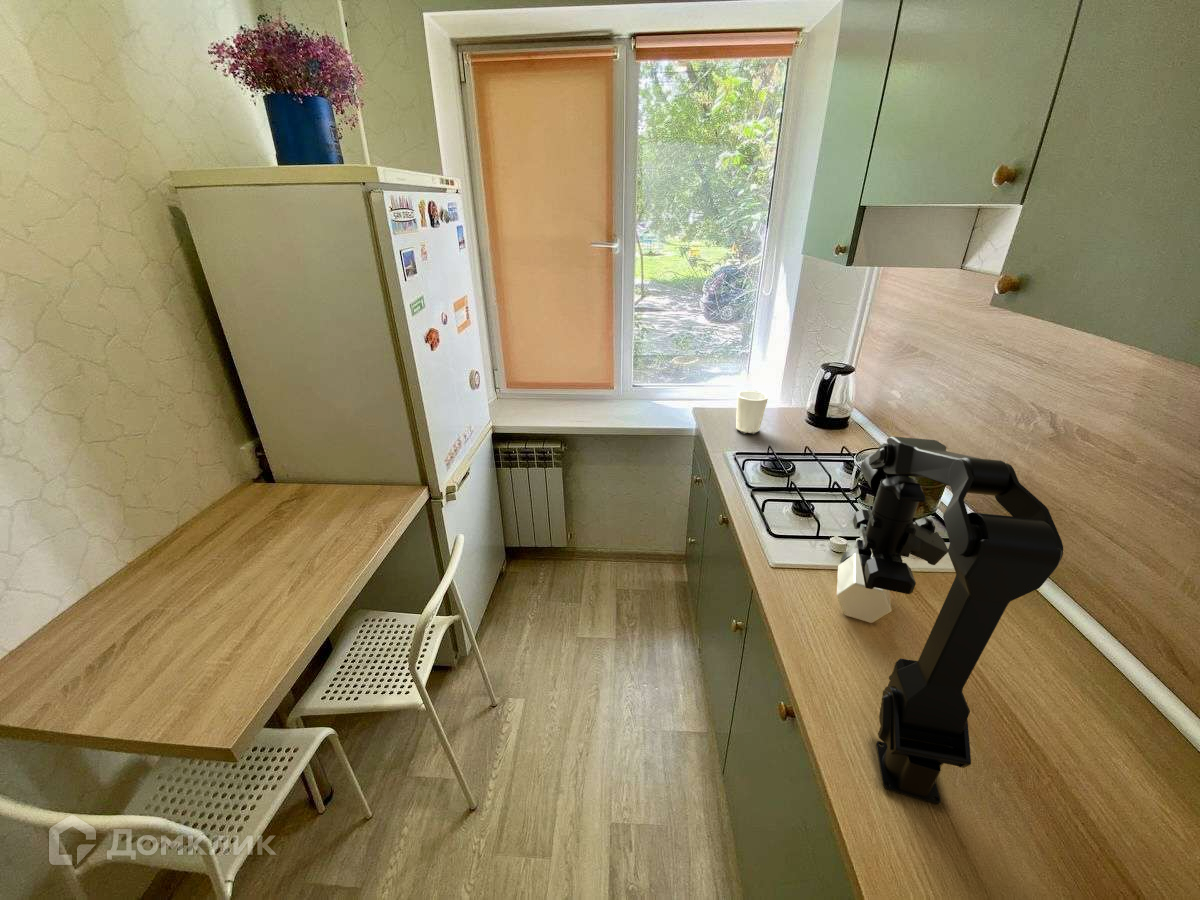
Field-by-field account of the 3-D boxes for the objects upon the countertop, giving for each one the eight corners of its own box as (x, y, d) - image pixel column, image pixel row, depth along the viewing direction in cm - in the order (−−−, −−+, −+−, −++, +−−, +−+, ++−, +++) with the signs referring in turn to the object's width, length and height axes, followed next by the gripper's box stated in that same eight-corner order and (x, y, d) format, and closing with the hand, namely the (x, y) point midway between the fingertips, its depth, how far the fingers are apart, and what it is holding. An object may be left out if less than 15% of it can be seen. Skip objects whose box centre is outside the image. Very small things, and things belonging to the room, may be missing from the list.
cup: (731, 424, 172) (735, 389, 166) (759, 425, 170) (765, 391, 165) (734, 435, 163) (739, 399, 157) (764, 437, 162) (770, 401, 156)
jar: (880, 580, 85) (878, 541, 95) (831, 586, 89) (833, 548, 99) (897, 621, 87) (893, 579, 96) (848, 625, 91) (849, 584, 101)
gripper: (971, 557, 67) (936, 639, 74) (935, 491, 83) (909, 563, 90) (881, 541, 70) (855, 621, 77) (863, 480, 86) (843, 551, 93)
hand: (868, 587), depth 84 cm, fingers closed
